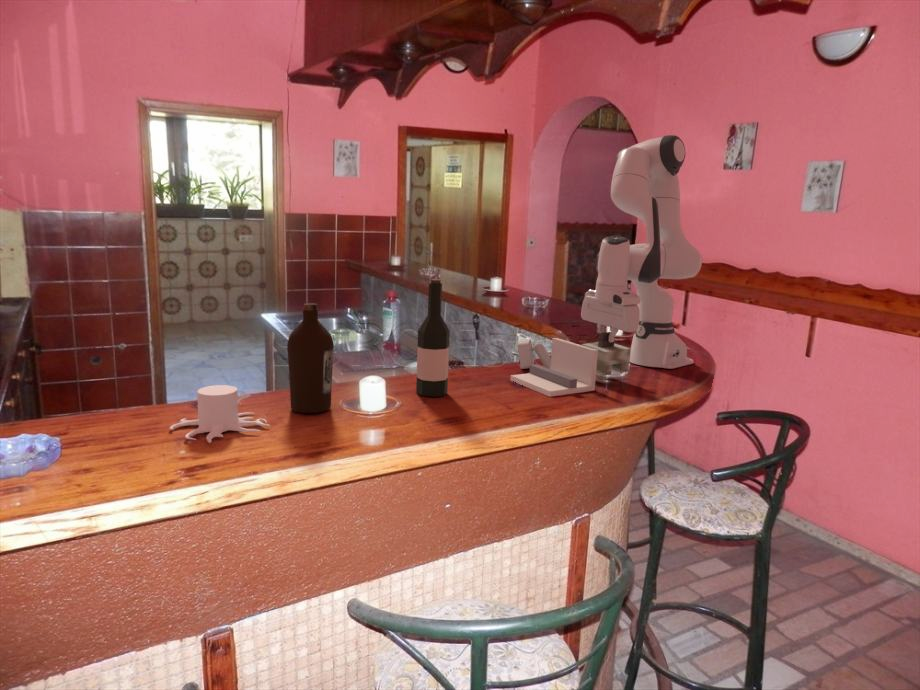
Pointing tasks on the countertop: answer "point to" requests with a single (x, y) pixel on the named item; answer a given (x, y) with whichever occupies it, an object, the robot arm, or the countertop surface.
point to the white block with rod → (527, 354)
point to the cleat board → (563, 370)
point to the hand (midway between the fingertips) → (606, 340)
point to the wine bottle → (433, 347)
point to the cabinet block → (610, 355)
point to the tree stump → (219, 413)
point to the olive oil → (310, 363)
